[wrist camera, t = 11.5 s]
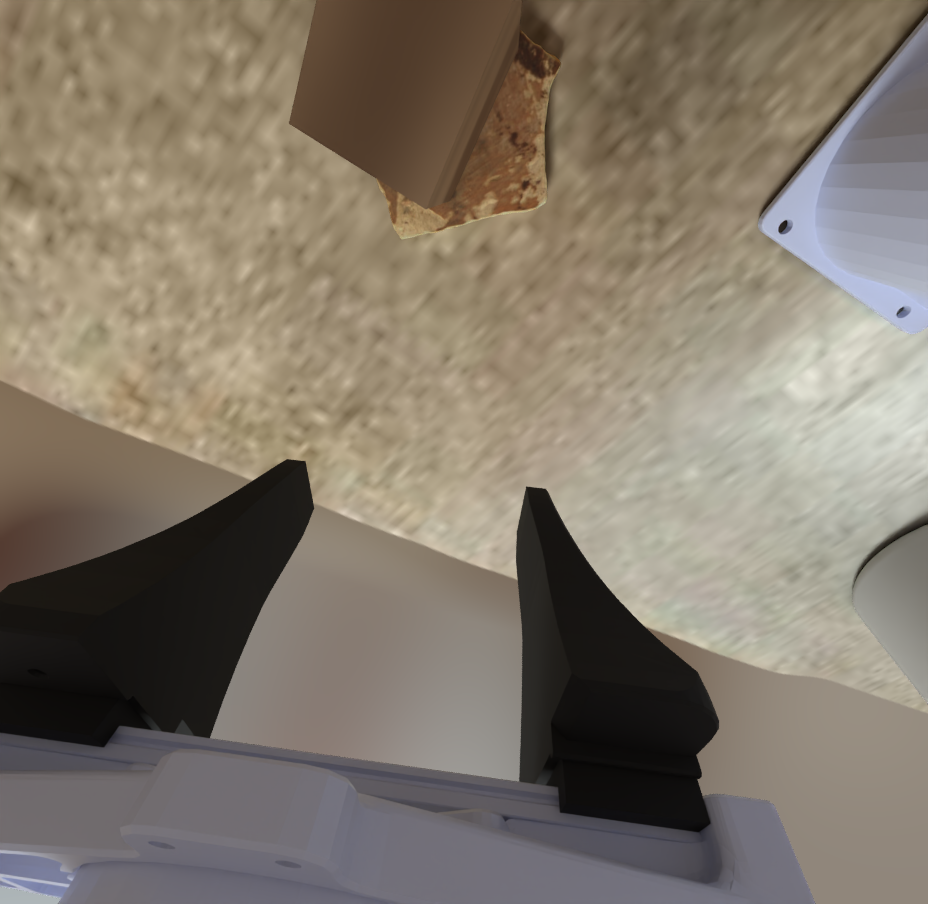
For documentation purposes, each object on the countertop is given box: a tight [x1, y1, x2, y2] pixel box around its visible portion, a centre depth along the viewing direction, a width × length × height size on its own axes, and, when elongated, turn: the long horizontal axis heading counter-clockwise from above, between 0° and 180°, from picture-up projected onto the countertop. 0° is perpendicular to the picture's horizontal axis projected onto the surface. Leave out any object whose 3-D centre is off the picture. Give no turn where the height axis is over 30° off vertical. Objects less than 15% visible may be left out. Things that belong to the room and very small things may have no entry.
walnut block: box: [289, 0, 522, 209], centre depth 12 cm, size 4×5×6 cm
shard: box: [377, 30, 561, 240], centre depth 15 cm, size 11×8×2 cm
